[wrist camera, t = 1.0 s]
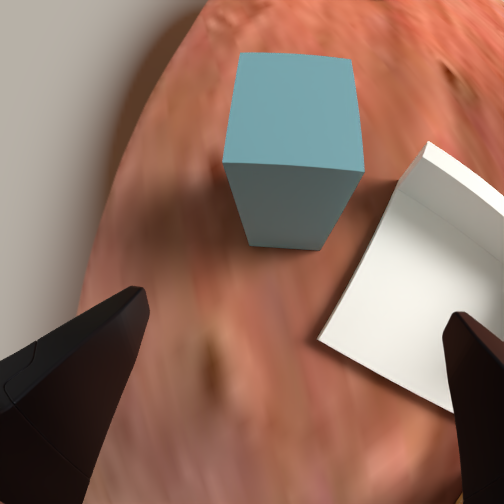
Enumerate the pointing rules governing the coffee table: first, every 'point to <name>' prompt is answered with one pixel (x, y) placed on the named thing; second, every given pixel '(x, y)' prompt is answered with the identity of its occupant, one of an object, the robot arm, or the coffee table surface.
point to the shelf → (424, 275)
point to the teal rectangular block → (292, 147)
